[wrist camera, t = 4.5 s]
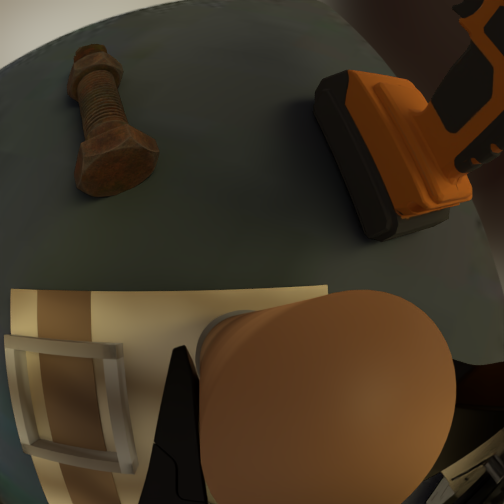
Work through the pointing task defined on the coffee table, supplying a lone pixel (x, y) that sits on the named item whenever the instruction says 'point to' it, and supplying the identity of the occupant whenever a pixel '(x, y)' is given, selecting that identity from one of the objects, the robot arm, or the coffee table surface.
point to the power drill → (418, 131)
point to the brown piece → (323, 401)
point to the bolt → (106, 128)
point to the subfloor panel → (105, 378)
